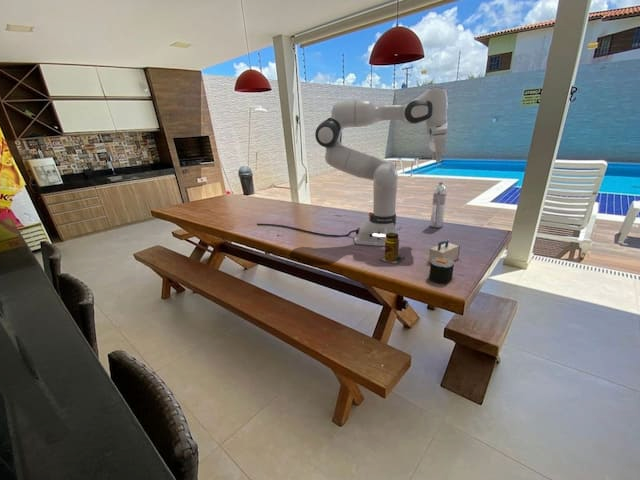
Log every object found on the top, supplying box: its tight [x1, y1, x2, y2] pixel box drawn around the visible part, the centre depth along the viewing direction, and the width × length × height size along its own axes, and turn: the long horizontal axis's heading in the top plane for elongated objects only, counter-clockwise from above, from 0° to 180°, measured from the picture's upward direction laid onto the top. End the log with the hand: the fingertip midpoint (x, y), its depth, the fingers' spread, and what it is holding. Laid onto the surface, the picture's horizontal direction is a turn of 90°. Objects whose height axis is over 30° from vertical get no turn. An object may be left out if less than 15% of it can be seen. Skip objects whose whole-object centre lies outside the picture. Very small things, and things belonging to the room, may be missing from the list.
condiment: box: [380, 232, 404, 264], centre depth 137 cm, size 7×8×12 cm
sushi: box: [428, 258, 455, 285], centre depth 119 cm, size 8×8×8 cm
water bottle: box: [429, 181, 447, 229], centre depth 171 cm, size 7×7×25 cm
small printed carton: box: [428, 239, 461, 264], centre depth 133 cm, size 12×6×10 cm, turn 125°
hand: (436, 161), depth 141 cm, fingers open, 8 cm apart
